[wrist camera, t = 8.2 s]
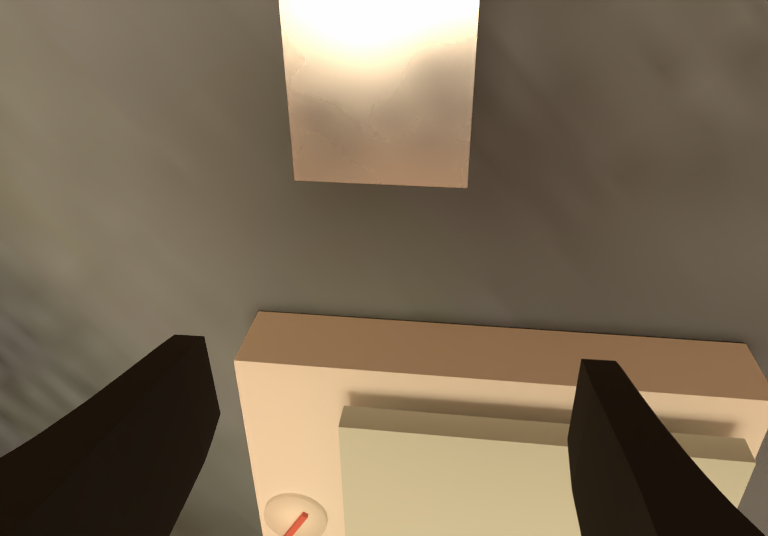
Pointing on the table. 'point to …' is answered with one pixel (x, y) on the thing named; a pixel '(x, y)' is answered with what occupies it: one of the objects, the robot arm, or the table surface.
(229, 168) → the table surface
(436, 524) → the pan
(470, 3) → the tan brown block
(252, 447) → the scale housing
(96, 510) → the robot arm
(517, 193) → the table surface
